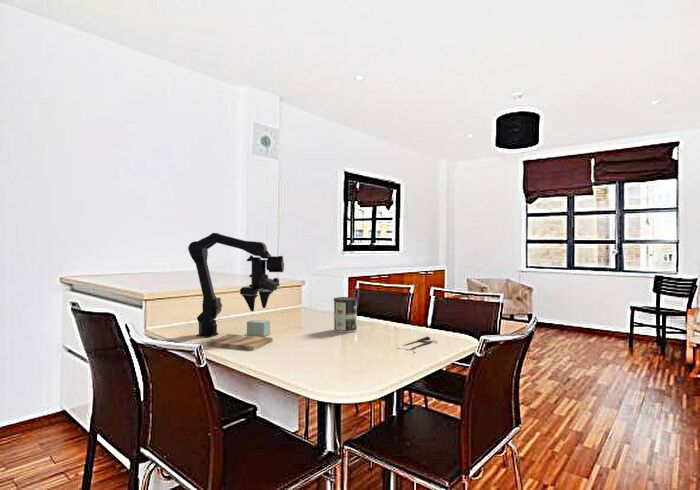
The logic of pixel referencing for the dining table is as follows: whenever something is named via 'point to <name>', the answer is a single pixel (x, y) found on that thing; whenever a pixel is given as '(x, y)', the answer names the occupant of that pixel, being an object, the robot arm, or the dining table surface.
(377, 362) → the dining table surface
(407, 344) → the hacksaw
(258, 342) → the oak board
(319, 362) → the dining table surface
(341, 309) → the coffee can
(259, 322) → the block
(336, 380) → the dining table surface
